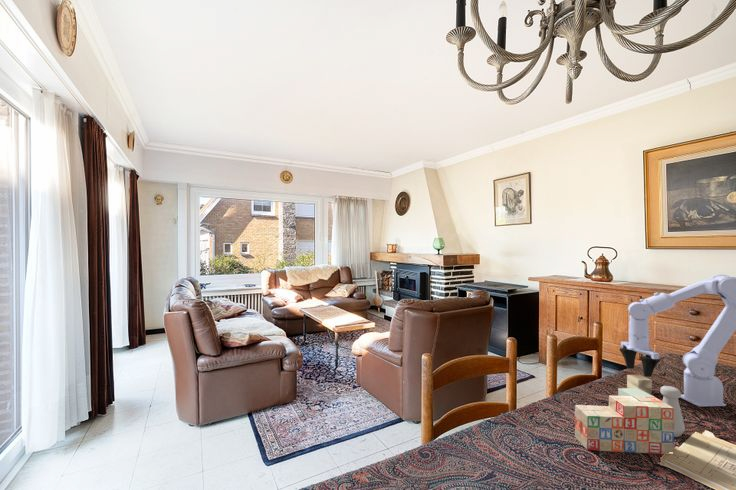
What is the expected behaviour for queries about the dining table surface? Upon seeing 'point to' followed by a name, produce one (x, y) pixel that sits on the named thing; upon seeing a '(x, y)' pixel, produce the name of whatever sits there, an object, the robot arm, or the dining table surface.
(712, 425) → the dining table surface
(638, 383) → the maple cube
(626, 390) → the base block
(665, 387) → the salt shaker
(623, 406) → the stack of blocks
